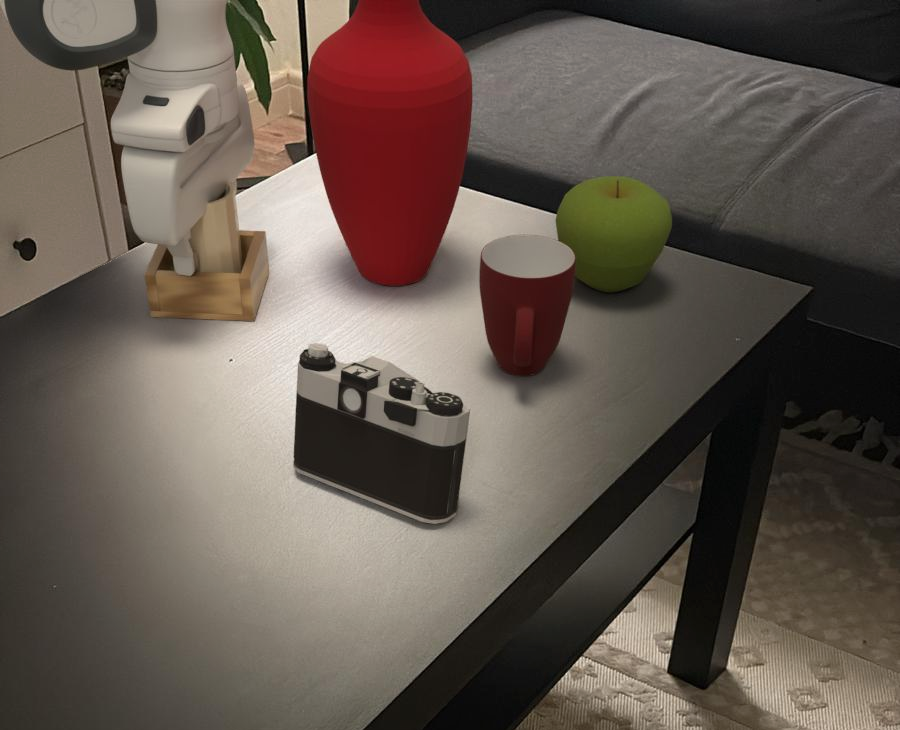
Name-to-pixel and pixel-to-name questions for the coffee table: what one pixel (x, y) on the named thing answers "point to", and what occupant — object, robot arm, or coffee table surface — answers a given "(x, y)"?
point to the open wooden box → (209, 285)
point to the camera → (379, 434)
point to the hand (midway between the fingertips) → (206, 250)
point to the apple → (613, 230)
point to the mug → (525, 299)
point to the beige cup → (218, 236)
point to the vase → (390, 135)
